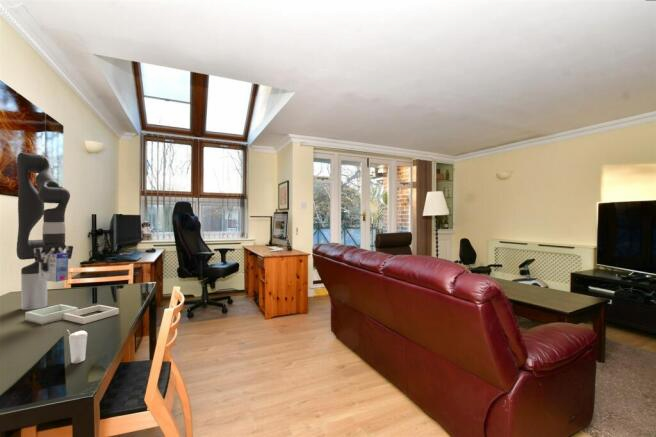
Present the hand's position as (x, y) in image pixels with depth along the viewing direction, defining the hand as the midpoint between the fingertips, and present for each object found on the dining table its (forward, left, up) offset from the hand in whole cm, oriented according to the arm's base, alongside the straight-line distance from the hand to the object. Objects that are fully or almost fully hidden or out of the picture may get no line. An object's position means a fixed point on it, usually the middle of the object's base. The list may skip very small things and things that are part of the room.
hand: (53, 270), depth 136 cm
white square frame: (+14, +8, -21) cm, 26 cm away
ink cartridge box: (0, 0, -5) cm, 5 cm away
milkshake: (+56, -20, -21) cm, 63 cm away
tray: (0, 0, -21) cm, 21 cm away
